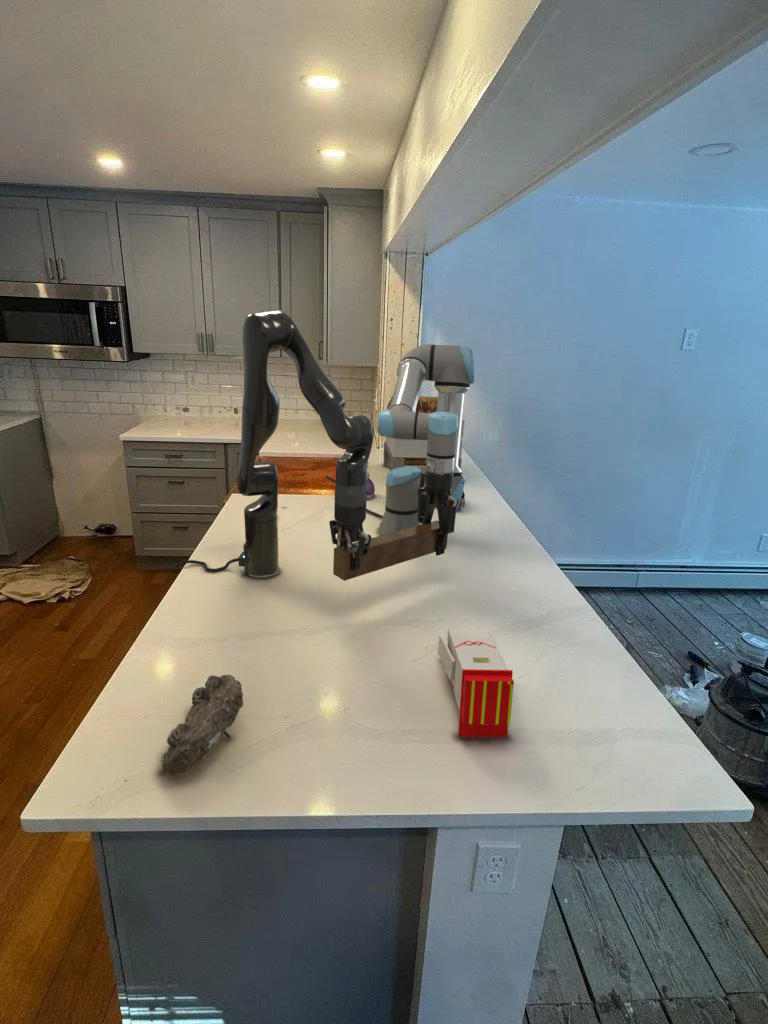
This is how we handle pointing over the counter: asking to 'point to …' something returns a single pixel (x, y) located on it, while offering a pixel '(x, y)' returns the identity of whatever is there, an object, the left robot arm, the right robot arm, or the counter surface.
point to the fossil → (203, 723)
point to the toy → (478, 682)
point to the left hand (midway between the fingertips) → (348, 565)
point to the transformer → (413, 442)
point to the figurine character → (462, 501)
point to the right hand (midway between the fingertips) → (433, 550)
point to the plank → (388, 550)
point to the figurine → (369, 485)
